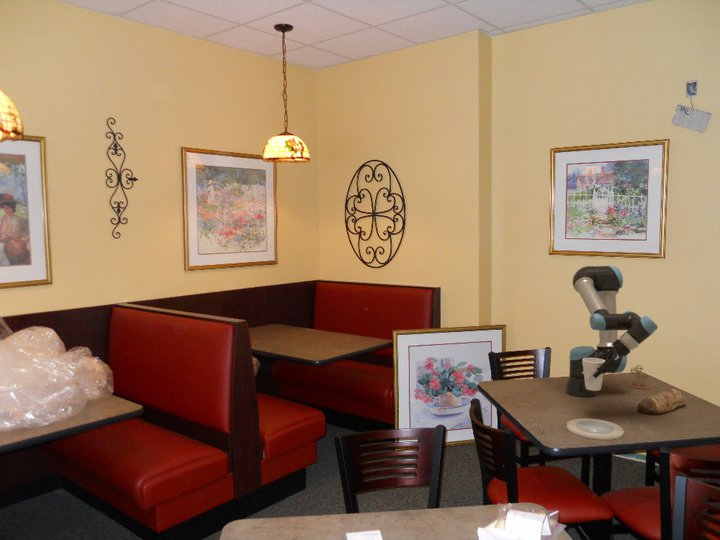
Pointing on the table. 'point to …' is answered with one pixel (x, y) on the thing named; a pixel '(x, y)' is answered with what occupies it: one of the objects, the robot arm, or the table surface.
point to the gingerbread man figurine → (639, 381)
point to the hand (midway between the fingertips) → (586, 378)
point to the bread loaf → (661, 402)
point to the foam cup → (589, 368)
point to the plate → (595, 429)
